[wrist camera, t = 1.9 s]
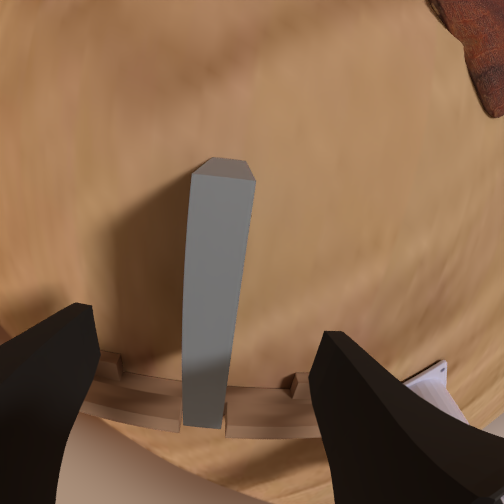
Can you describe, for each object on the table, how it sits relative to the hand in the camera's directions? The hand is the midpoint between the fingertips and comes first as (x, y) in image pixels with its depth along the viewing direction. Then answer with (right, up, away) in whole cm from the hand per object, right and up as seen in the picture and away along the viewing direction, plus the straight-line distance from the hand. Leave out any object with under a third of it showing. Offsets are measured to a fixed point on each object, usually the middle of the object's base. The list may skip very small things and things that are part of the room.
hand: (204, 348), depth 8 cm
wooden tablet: (+25, +23, +1) cm, 34 cm away
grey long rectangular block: (0, +3, +7) cm, 7 cm away
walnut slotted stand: (-2, -7, +11) cm, 13 cm away
